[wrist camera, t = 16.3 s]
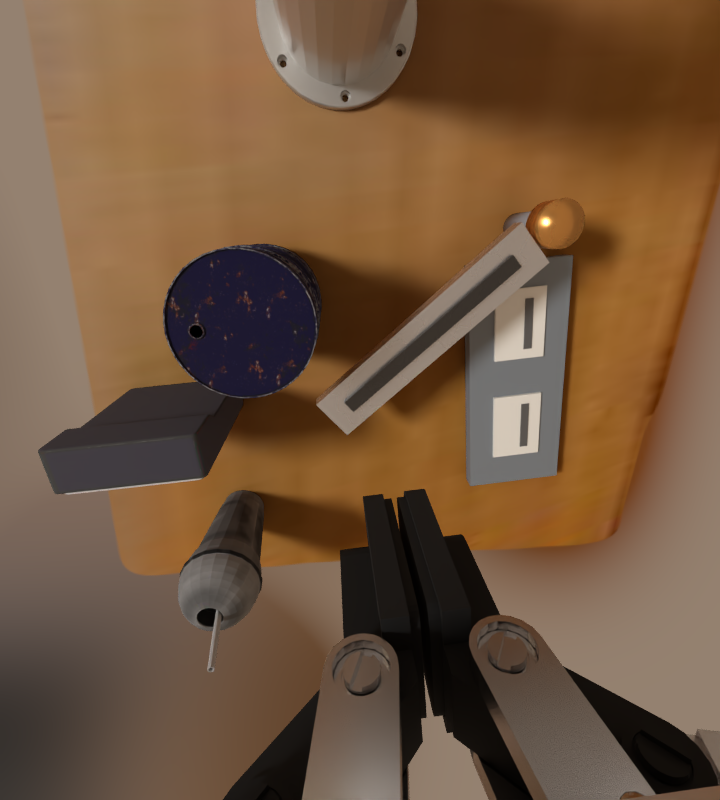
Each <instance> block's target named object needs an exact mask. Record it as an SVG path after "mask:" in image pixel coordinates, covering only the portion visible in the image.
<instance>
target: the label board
mask: <svg viewBox="0 0 720 800" xmlns="http://www.w3.org/2000/svg"><path fill="white" fill-rule="evenodd" d="M530 213H531V211H530V212H523V213H516V214H512V215H511V216H509V217H508V218H507V219H506V221H505V223H504V226H503V231H505V230H506V229H507V228H509V227H510V226H511V225H512V224H513V223H519V222H522V223H523V224H524V226H525V227H526V221H527V218H528V216H529V214H530ZM546 258H547V260H548V261H549V262H550V263H548V264H547V265H546V266H545V267H544V268H543V269H541V270H540V271H539V272H538V273H537V274H536V275H534V276H533V277H532V278H531V279H530V280H529V281H527V282H526V283H525V284H524V285H523V286H522V287H520V288H519V289H518V290H517V291H516V292H515V293H513V294H512V295H511V296H510V297H509V298H507V299H506V300H505V301H504V302H503V303H502V304H500V305H499V306H498V307H497V308H496V309H495V310H493V311H492V312H491V313H490V314H489V315H488V316H486V317H485V318H484V319H483V320H482V321H481V322H479V323H478V324H477V325H476V326H475V327H474V328H472V329H471V330H470V331H469V332H468V333H466V334H465V382H466V473H467V481H468V482H469V484H470V486H475V485H483V484H490V483H498V482H506V481H514V480H522V479H530V478H538V477H546V476H554V475H557V461H558V448H559V435H560V422H561V409H562V396H563V382H564V369H565V356H566V343H567V330H568V317H569V304H570V290H571V277H572V264H573V255H558V256H549V257H546ZM464 267H465V266H464Z"/></svg>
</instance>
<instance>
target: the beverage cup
mask: <svg viewBox="0 0 720 800" xmlns="http://www.w3.org/2000/svg"><path fill="white" fill-rule="evenodd" d="M263 521H264V504H263V501H262V500H261V498H260V497H259V496H258V495H257V494H255V493H253V492H250V491H245V490H241V491H236V492H234V493H232V494H230V495H229V496H228V497H227V499H226V501H225V502H224V504H223V505H222V506H221V508H220V510H219V512H218V514H217V515H216V517H215V519H214V521H213V523H212V524H211V526H210V528H209V530H208V532H207V533H206V535H205V537H204V539H203V541H202V542H201V544H200V546H199V548H198V549H197V550H196V551H195V552H194V553H193V554H192V556H191V557H190V558H189V560H188V561H187V562H186V563H185V564H184V566H183V568H182V570H181V572H180V580H179V586H178V602H179V605H180V608H181V610H182V613H183V615H184V616H185V618H186V619H187V620H188V621H189V622H190V623H191V624H193V625H194V626H196V627H198V628H199V629H202V630H206V631H213V635H212V642H211V649H210V656H209V663H208V669H207V671H208V672H213V671H214V669H215V663H216V655H217V648H218V640H219V633H220V630H225V629H227V628H229V627H231V626H234V625H235V624H237V623H238V622H239V621H240V620H242V619H243V618H244V617H245V616H246V615H247V614H248V613H249V612H250V610H251V608H252V607H253V604H254V603H255V601H256V599H257V597H258V594H259V593H260V590H261V586H262V577H261V564H260V555H261V543H262V532H263Z"/></svg>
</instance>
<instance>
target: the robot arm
mask: <svg viewBox="0 0 720 800" xmlns="http://www.w3.org/2000/svg"><path fill="white" fill-rule="evenodd" d="M256 14H257V23H258V27H259V32H260V36H261V40H262V43H263V46H264V49H265V52H266V54H267V56H268V58H269V60H270V62H271V64H272V66H273V68H274V70H275V71H276V72H277V74H278V75H279V77H280V78H281V79H282V81H283V82H284V83H285V84H286V85H287V86H288V87H289V88H290V89H291V90H292V91H293V92H294V93H295V94H296V95H298V96H299V97H301V98H302V99H304V100H305V101H307V102H309V103H311V104H313V105H316V106H318V107H320V108H325V109H330V110H351V109H355V108H359V107H363V106H365V105H367V104H369V103H371V102H373V101H374V100H376V99H377V98H379V97H380V96H381V95H382V94H384V93H385V92H386V91H387V90H388V89H389V88H390V87H391V86H392V84H393V83H394V82H395V81H396V79H397V78H398V77H399V75H400V73H401V71H402V69H403V68H404V66H405V64H406V62H407V60H408V57H409V55H410V52H411V49H412V45H413V42H414V38H415V34H416V25H417V16H418V15H417V0H256ZM398 50H400V51H401V52H402V56H401V57H399V56H397V54H396V52H397V51H398ZM282 61H285V62H286V67H284V68H282V67H281V66H280V63H281V62H282ZM343 96H347V97H348V101H347V102H344V101H343V100H342V97H343ZM363 502H364V511H365V520H366V528H367V537H368V547H360V548H353V549H345V550H340V561H341V584H342V605H343V606H342V608H343V630H344V631H343V632H344V639H342V640H341V641H340V642H339V643H337V644H336V645H335V646H334V647H333V648H332V650H331V651H330V653H329V654H328V656H327V658H326V662H325V664H324V668H323V674H322V681H321V687H320V690H319V691H318V692H317V693H316V694H315V695H314V696H313V698H312V699H311V700H310V701H309V702H308V703H307V704H306V705H305V706H304V707H303V709H302V710H301V711H300V712H299V713H298V714H297V715H296V716H295V717H294V719H293V720H292V721H291V722H290V723H289V724H288V725H287V726H286V727H285V729H284V730H283V731H282V732H281V733H280V734H279V735H278V736H277V738H276V739H275V740H274V741H273V742H272V743H271V744H270V745H269V746H268V748H267V749H266V750H265V751H264V752H263V753H262V754H261V755H260V756H259V758H258V759H257V760H256V761H255V762H254V763H253V764H252V766H250V768H249V769H248V770H247V771H246V772H245V773H244V774H243V775H242V776H241V778H240V779H239V780H238V781H237V782H236V783H235V784H234V785H233V786H232V788H231V789H230V791H229V792H228V794H227V795H226V796H225V798H224V799H223V800H410V799H409V798H410V797H409V769H408V764H409V763H410V761H411V759H412V758H413V756H414V755H415V753H416V752H417V750H418V748H419V747H420V745H421V744H422V742H423V739H422V725H421V718H426V700H425V685H424V676H425V680H426V685H427V689H428V694H429V698H430V702H431V707H432V711H433V715H434V716H441V715H443V719H444V723H445V727H446V731H447V733H450V732H453V736H454V738H456V739H457V740H459V741H460V742H461V743H462V744H464V745H465V746H466V747H468V748H469V749H470V752H471V756H472V759H473V763H474V766H475V768H476V770H477V773H478V775H479V777H480V780H481V782H482V785H483V787H484V790H485V792H486V794H487V797H488V799H489V800H720V731H710V730H700V729H697V732H696V735H687V734H685V733H684V732H682V731H681V730H679V729H678V728H676V727H675V726H673V725H672V724H670V723H669V722H667V721H665V720H663V719H661V718H659V717H657V716H655V715H654V714H652V713H650V712H648V711H646V710H644V709H642V708H640V707H639V706H637V705H635V704H633V703H631V702H629V701H627V700H625V699H624V698H622V697H620V696H618V695H616V694H614V693H612V692H611V691H609V690H607V689H605V688H603V687H601V686H599V685H597V684H595V683H594V682H592V681H590V680H588V679H586V678H584V677H582V676H580V675H579V674H577V673H575V672H573V671H571V670H569V669H567V668H565V667H564V666H562V664H561V663H560V662H559V660H558V659H557V657H556V656H555V655H554V653H553V652H552V651H551V649H550V648H549V647H548V645H547V644H546V642H545V641H544V640H543V638H542V637H541V636H540V634H539V633H538V632H537V631H536V630H535V629H534V628H533V627H532V626H530V625H529V624H527V623H525V622H524V621H522V620H520V619H517V618H514V617H511V616H505V615H500V614H499V611H498V609H497V607H496V605H495V603H494V601H493V598H492V596H491V594H490V592H489V590H488V588H487V586H486V583H485V581H484V579H483V577H482V575H481V572H480V570H479V568H478V566H477V564H476V562H475V559H474V557H473V555H472V553H471V551H470V549H469V546H468V544H467V542H466V540H465V538H464V536H463V535H461V534H460V535H452V536H445V537H443V535H442V532H441V530H440V527H439V525H438V522H437V519H436V517H435V514H434V512H433V509H432V507H431V504H430V502H429V499H428V496H427V494H426V491H425V489H418V490H410V491H404V497H398V498H397V506H398V518H399V528H398V523H397V519H396V515H395V511H394V507H393V503H392V500H391V498H390V499H384V497H383V494H379V495H371V496H363ZM399 531H400V532H399Z"/></svg>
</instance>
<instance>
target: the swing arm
mask: <svg viewBox="0 0 720 800" xmlns="http://www.w3.org/2000/svg"><path fill="white" fill-rule="evenodd" d="M584 224H585V215H584V211H583V209H582V207H581V206H580V204H579V203H578V202H576V201H575V200H573V199H569V198H562V199H556V200H550V201H545V202H542V203H540V204H539V205H537V206H536V207H535V208H534V209H533V210H532V211H531V213H530V214H529V216H528V218H527V221H526V227H525V226H524V224H523V223H522V222H519V223H513V224H512V225H511V226H510V227H509V228H507V229H506V230H505V231H504V232H503V233H502V234H501V235H500V236H499V237H497V238H496V239H495V240H494V241H493V242H492V243H491V244H490V245H488V246H487V247H486V248H485V249H484V250H483V251H482V252H481V253H479V254H478V255H477V256H476V257H475V258H474V259H473V260H472V261H470V262H469V263H468V264H467V265H466V266H465V267H464V268H463V269H462V270H460V271H459V272H458V273H457V274H456V275H455V276H454V277H453V278H451V279H450V280H449V281H448V282H447V283H446V284H445V285H444V286H442V287H441V288H440V289H439V290H438V291H437V292H436V293H435V294H433V295H432V296H431V297H430V298H429V299H428V300H427V301H426V302H424V303H423V304H422V305H421V306H420V307H419V308H418V309H417V310H416V311H414V312H413V313H412V314H411V315H410V316H409V317H408V318H407V319H405V320H404V321H403V322H402V323H401V324H400V325H399V326H398V327H396V328H395V329H394V330H393V331H392V332H391V333H390V334H389V335H387V336H386V337H385V338H384V339H383V340H382V341H381V342H380V343H379V344H377V345H376V346H375V347H374V348H373V349H372V350H371V351H370V352H368V353H367V354H366V355H365V356H364V357H363V358H362V359H361V360H359V361H358V362H357V363H356V364H355V365H354V366H353V367H352V368H350V369H349V370H348V371H347V372H346V373H345V374H344V375H343V376H341V377H340V378H339V379H338V380H337V381H336V382H335V383H334V384H333V385H331V386H330V387H329V388H328V389H327V390H326V391H325V392H324V393H322V394H321V395H320V396H319V397H318V398H317V400H316V405H317V406H318V407H319V408H320V409H321V410H322V411H323V412H324V413H325V414H326V415H327V416H328V417H329V418H330V419H331V420H332V421H333V422H334V423H335V424H336V425H337V426H338V427H339V428H340V429H341V430H342V431H343V432H344V433H346V434H347V435H348V434H349V433H351V432H352V431H353V430H354V429H355V428H356V427H358V426H359V425H360V424H361V423H362V422H363V421H365V420H366V419H367V418H368V417H369V416H370V415H372V414H373V413H374V412H375V411H376V410H377V409H379V408H380V407H381V406H382V405H383V404H385V403H386V402H387V401H388V400H389V399H390V398H392V397H393V396H394V395H395V394H396V393H397V392H399V391H400V390H401V389H402V388H403V387H404V386H406V385H407V384H408V383H409V382H410V381H411V380H413V379H414V378H415V377H416V376H417V375H418V374H420V373H421V372H422V371H423V370H424V369H425V368H427V367H428V366H429V365H430V364H431V363H433V362H434V361H435V360H436V359H437V358H438V357H440V356H441V355H442V354H443V353H444V352H445V351H447V350H448V349H449V348H450V347H451V346H452V345H454V344H455V343H456V342H457V341H458V340H459V339H461V338H462V337H463V336H464V335H465V334H466V333H468V332H469V331H470V330H471V329H472V328H474V327H475V326H476V325H477V324H478V323H479V322H481V321H482V320H483V319H484V318H485V317H486V316H488V315H489V314H490V313H491V312H492V311H493V310H495V309H496V308H497V307H498V306H499V305H500V304H502V303H503V302H504V301H505V300H506V299H507V298H509V297H510V296H511V295H512V294H513V293H515V292H516V291H517V290H518V289H519V288H520V287H522V286H523V285H524V284H525V283H526V282H527V281H529V280H530V279H531V278H532V277H533V276H534V275H536V274H537V273H538V272H539V271H540V270H541V269H543V268H544V267H545V266H546V265H547V264H548V263H550V262H549V261H548V260H547V258H546V257H545V255H544V254H543V252H542V251H541V249H540V248H542V249H563V248H566V247H568V246H570V245H572V244H573V243H574V242H575V241H576V240H577V239H578V238H579V236H580V235H581V233H582V231H583V228H584Z"/></svg>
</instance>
